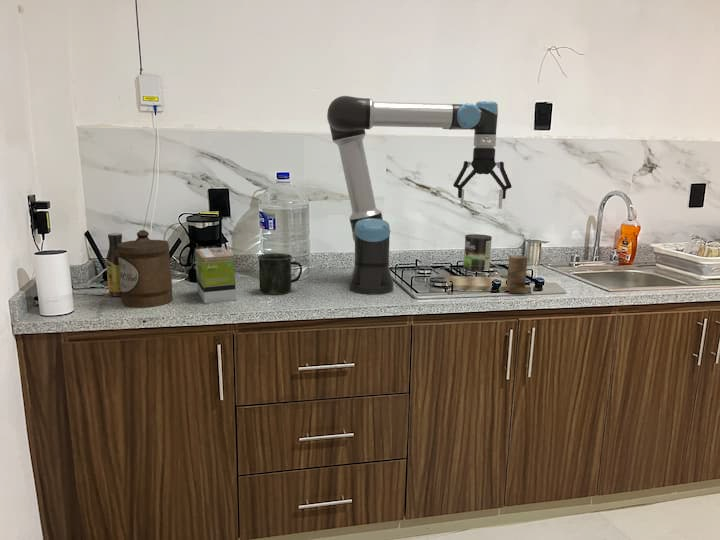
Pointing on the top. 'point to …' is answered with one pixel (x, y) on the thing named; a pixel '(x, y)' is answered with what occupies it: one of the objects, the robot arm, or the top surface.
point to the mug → (276, 273)
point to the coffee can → (477, 252)
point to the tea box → (215, 274)
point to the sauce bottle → (113, 264)
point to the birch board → (478, 283)
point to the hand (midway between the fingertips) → (480, 207)
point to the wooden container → (145, 272)
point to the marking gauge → (517, 273)
